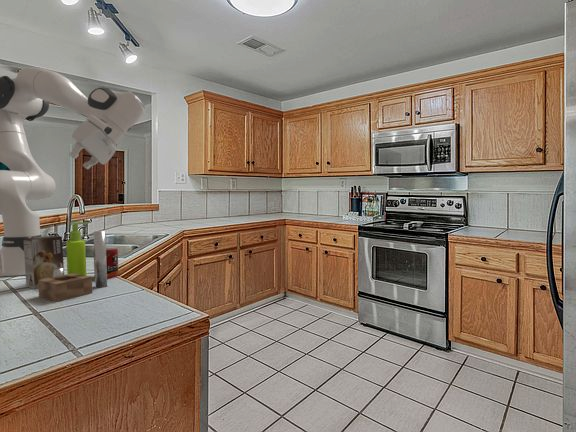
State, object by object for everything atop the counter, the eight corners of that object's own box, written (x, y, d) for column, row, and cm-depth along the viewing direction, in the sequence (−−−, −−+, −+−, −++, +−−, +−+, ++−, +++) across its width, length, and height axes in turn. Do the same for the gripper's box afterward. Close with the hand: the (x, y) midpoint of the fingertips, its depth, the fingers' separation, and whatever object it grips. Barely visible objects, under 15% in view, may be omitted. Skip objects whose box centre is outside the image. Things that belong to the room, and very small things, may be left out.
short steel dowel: (50, 287, 112) (49, 268, 112) (61, 284, 115) (60, 266, 115) (55, 288, 110) (55, 270, 110) (66, 286, 113) (66, 268, 113)
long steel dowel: (93, 286, 112) (91, 231, 111) (103, 284, 115) (101, 230, 114) (99, 288, 111) (97, 232, 110) (109, 285, 114) (107, 231, 113)
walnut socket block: (39, 296, 102) (38, 279, 101) (73, 288, 110) (73, 273, 110) (57, 301, 97) (56, 284, 96) (92, 292, 105) (91, 276, 105)
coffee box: (56, 280, 120) (54, 235, 119) (65, 283, 117) (63, 236, 116) (25, 286, 113) (22, 237, 112) (34, 289, 109) (31, 239, 108)
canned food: (108, 279, 122) (107, 248, 121) (89, 278, 123) (88, 248, 123) (123, 274, 129) (122, 245, 128) (104, 273, 131) (103, 245, 130)
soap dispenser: (91, 276, 127) (89, 222, 126) (70, 279, 122) (68, 223, 120) (86, 273, 131) (84, 221, 130) (65, 277, 126) (63, 222, 124)
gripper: (111, 140, 127) (84, 168, 124) (87, 111, 108) (55, 144, 104) (125, 149, 127) (99, 178, 124) (103, 122, 107) (72, 155, 104)
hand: (78, 162), depth 114 cm, fingers open, 8 cm apart
